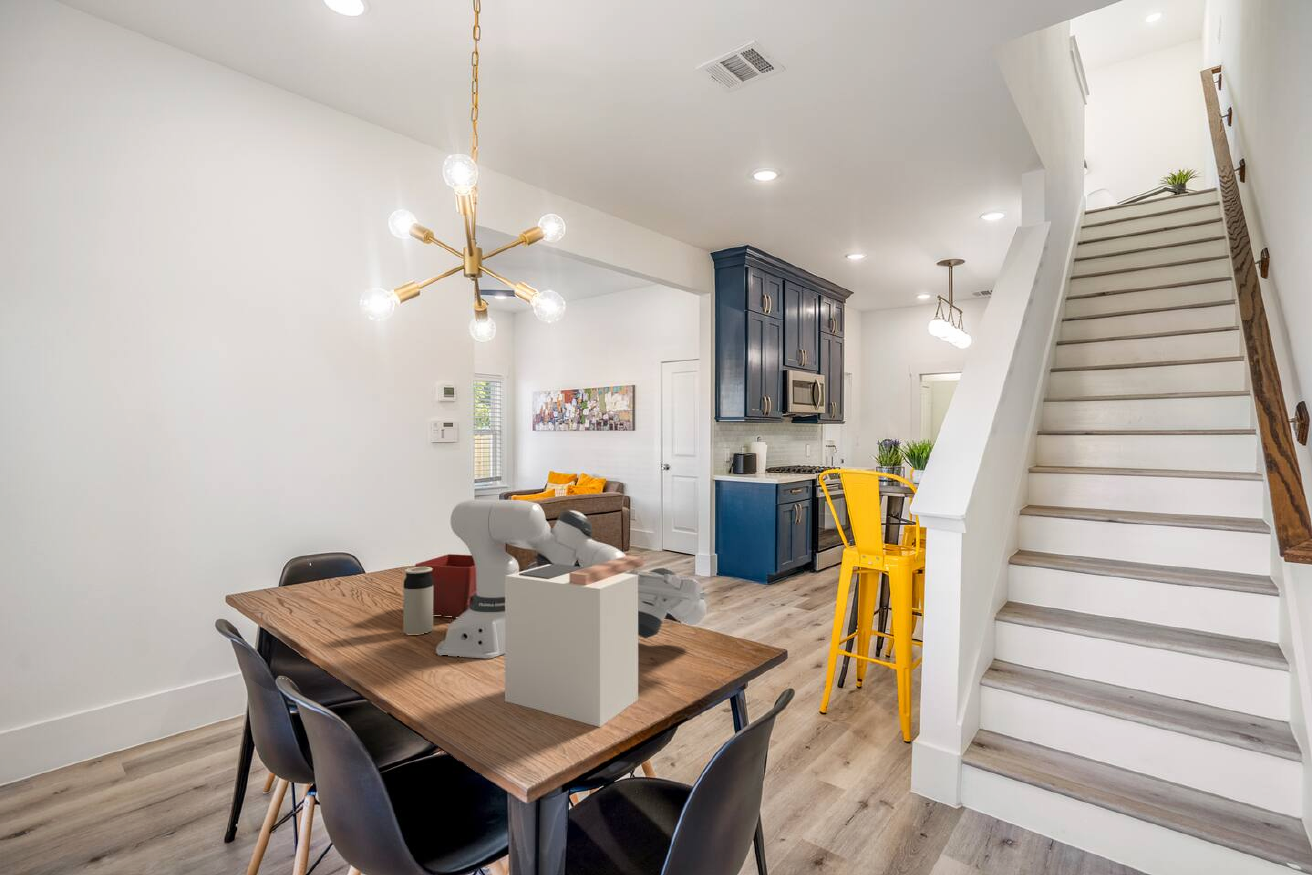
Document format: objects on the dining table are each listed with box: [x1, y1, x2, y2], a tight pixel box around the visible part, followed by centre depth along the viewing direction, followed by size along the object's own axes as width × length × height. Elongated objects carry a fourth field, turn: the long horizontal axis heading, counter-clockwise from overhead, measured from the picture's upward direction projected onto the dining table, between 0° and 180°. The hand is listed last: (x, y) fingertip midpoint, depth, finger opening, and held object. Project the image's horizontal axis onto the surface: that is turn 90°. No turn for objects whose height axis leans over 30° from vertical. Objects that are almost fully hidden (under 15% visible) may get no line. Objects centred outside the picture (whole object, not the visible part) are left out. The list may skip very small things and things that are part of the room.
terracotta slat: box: [569, 555, 644, 585], centre depth 126 cm, size 22×4×2 cm, turn 151°
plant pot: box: [414, 553, 476, 617], centre depth 191 cm, size 19×19×17 cm
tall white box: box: [504, 564, 639, 728], centre depth 125 cm, size 14×24×26 cm, turn 61°
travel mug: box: [402, 566, 434, 634], centre depth 171 cm, size 8×8×18 cm
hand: (648, 575), depth 140 cm, fingers open, 8 cm apart
